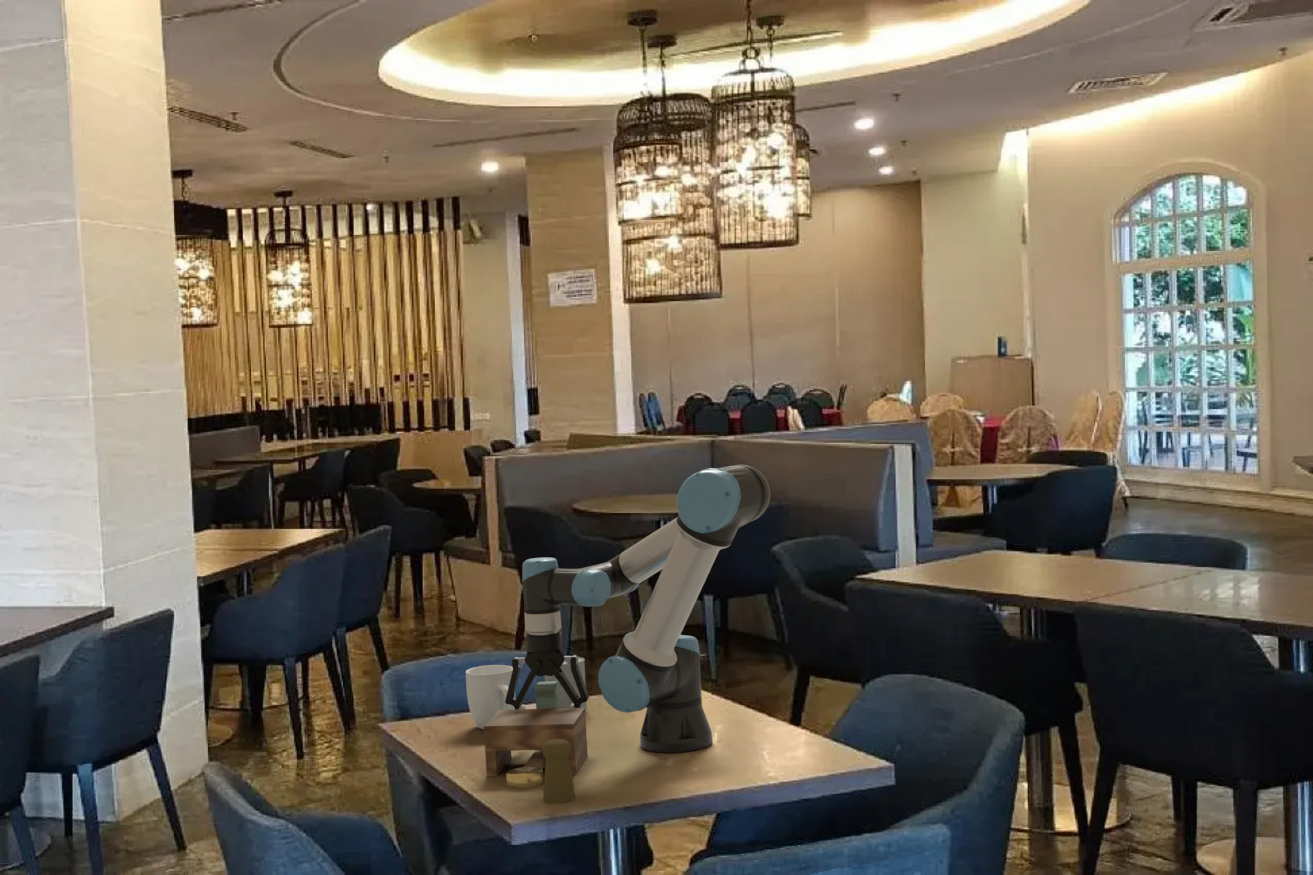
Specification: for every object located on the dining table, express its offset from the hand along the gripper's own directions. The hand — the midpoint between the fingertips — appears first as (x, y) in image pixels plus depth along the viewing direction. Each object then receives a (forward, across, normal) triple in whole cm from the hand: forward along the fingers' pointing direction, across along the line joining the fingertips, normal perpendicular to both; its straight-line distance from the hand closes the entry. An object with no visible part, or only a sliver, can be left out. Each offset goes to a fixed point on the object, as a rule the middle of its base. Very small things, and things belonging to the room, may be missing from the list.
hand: (549, 736), depth 305 cm
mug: (+3, +16, -21) cm, 27 cm away
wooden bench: (+3, 0, +13) cm, 13 cm away
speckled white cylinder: (+3, +2, -34) cm, 34 cm away
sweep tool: (+3, 0, +10) cm, 10 cm away
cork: (+3, -8, +36) cm, 37 cm away
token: (+3, 0, +26) cm, 26 cm away
